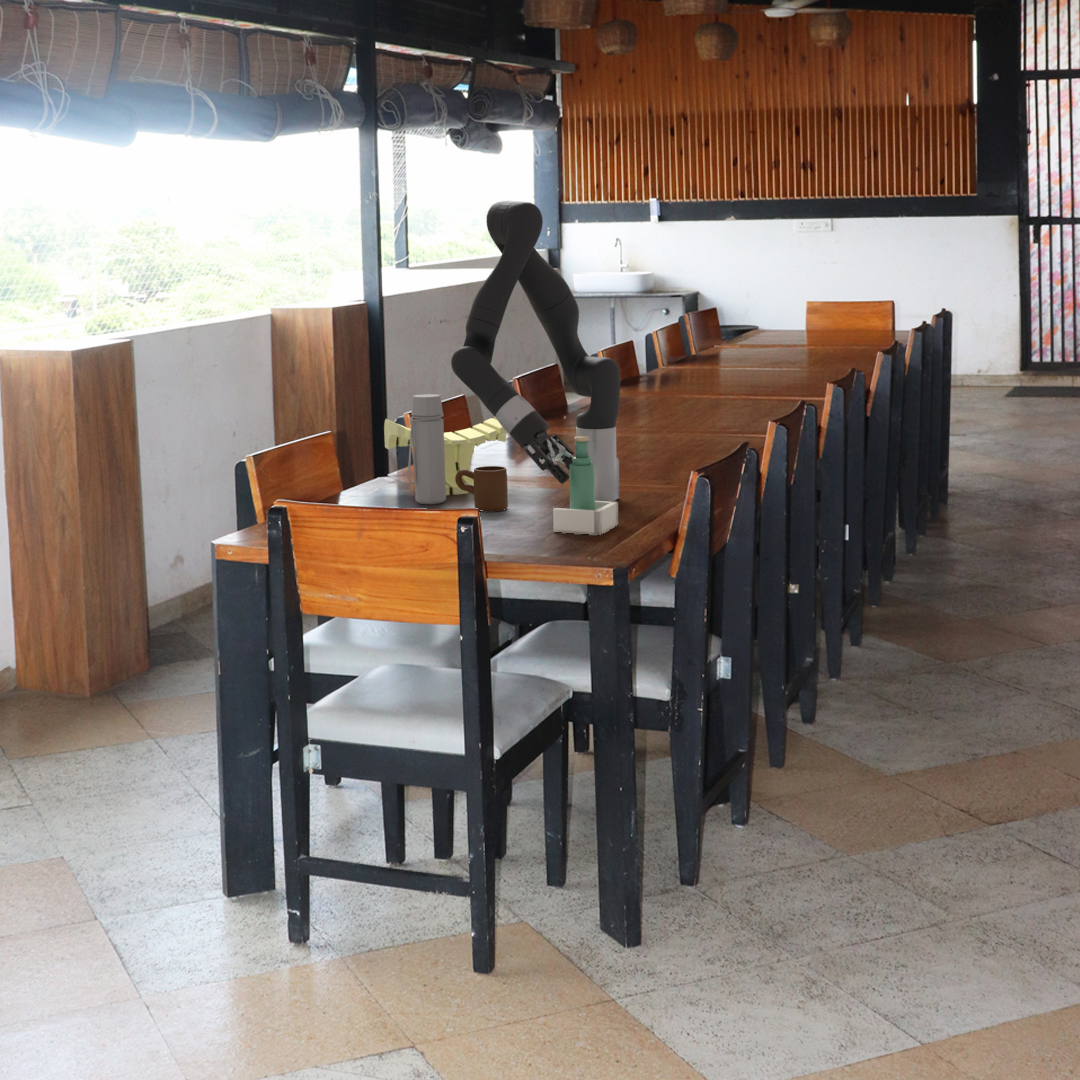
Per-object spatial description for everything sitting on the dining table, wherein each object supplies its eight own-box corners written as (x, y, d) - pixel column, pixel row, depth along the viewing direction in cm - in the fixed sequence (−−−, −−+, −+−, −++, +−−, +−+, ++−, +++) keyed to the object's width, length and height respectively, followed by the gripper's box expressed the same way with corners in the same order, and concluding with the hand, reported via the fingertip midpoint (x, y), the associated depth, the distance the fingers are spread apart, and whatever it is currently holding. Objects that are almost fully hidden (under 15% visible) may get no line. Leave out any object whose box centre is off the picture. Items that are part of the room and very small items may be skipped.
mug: (452, 511, 306) (450, 470, 305) (460, 505, 314) (459, 465, 312) (503, 512, 304) (502, 471, 302) (511, 506, 311) (510, 466, 310)
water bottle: (436, 498, 324) (432, 393, 319) (452, 502, 317) (449, 395, 312) (402, 502, 319) (397, 396, 314) (417, 507, 312) (413, 398, 307)
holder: (553, 532, 282) (553, 509, 280) (573, 522, 292) (572, 499, 291) (599, 535, 278) (599, 511, 277) (618, 525, 288) (617, 501, 287)
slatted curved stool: (501, 479, 348) (500, 410, 344) (520, 489, 333) (518, 417, 330) (386, 488, 339) (383, 417, 336) (399, 498, 324) (396, 424, 321)
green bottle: (581, 522, 288) (580, 434, 285) (600, 525, 285) (599, 436, 281) (565, 526, 285) (563, 437, 281) (584, 529, 281) (582, 439, 277)
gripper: (520, 413, 277) (573, 471, 276) (545, 405, 290) (596, 460, 288) (496, 438, 280) (549, 495, 279) (523, 429, 293) (573, 484, 291)
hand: (573, 477), depth 283 cm, fingers open, 8 cm apart
